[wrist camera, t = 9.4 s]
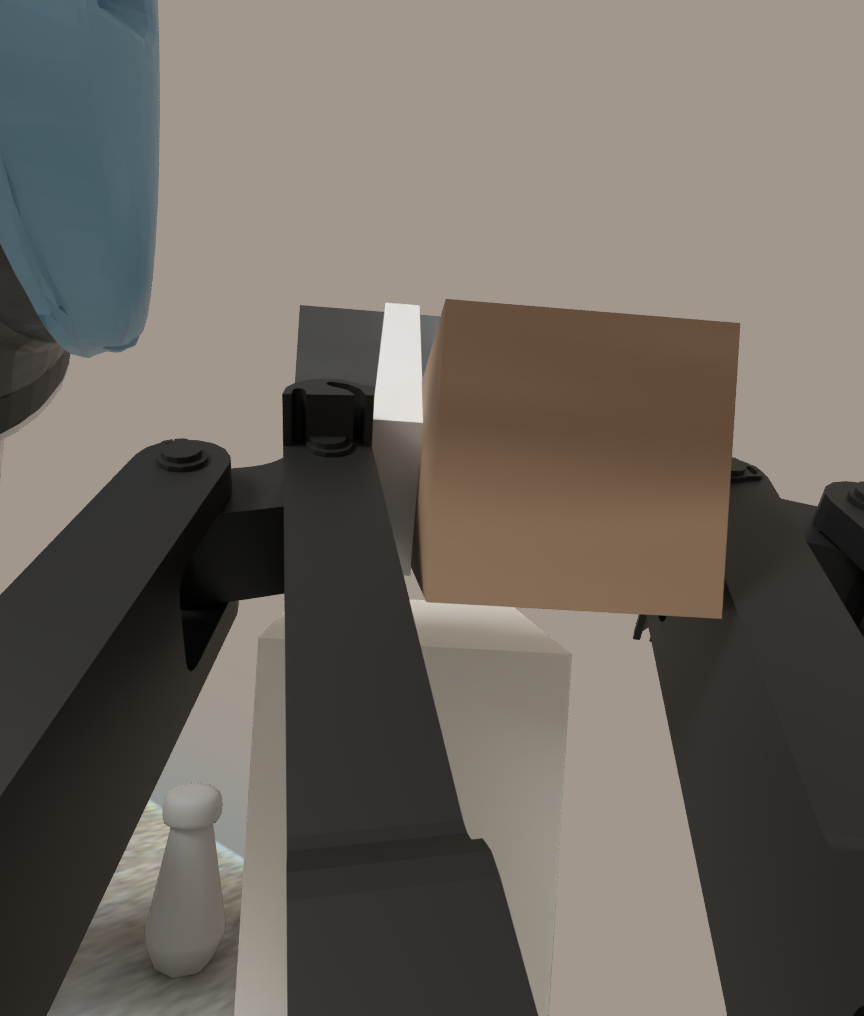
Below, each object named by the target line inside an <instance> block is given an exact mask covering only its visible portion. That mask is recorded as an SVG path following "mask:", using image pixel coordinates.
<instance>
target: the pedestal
mask: <svg viewBox="0 0 864 1016" xmlns="http://www.w3.org/2000/svg"><path fill="white" fill-rule="evenodd" d="M410 604H411V609H412V613H413V617H414V621H415V625H416V629H417V633H418V637H419V641H420V645H421V649H422V654H423V658H424V662H425V666H426V670H427V674H428V678H429V682H430V686H431V690H432V694H433V699H434V703H435V707H436V711H437V715H438V719H439V723H440V727H441V731H442V735H443V739H444V744H445V748H446V752H447V756H448V760H449V764H450V768H451V772H452V776H453V780H454V784H455V789H456V793H457V797H458V801H459V805H460V809H461V813H462V817H463V821H464V824H465V827H466V830H467V833H468V835H469V836H470V838H471V839H480V838H483V839H484V841H485V842H486V844H487V845H488V846H489V848H490V849H491V851H492V854H493V857H494V860H495V863H496V866H497V868H498V871H499V874H500V877H501V881H502V885H503V888H504V892H505V896H506V899H507V903H508V907H509V910H510V914H511V918H512V921H513V925H514V929H515V932H516V936H517V940H518V943H519V947H520V951H521V954H522V958H523V962H524V965H525V969H526V972H527V976H528V980H529V983H530V987H531V991H532V994H533V998H534V1002H535V1005H536V1009H537V1013H538V1016H549V1003H550V987H551V972H552V971H551V970H552V955H553V940H554V924H555V909H556V893H557V878H558V862H559V846H560V830H561V815H562V800H563V783H564V768H565V753H566V736H567V721H568V706H569V690H570V675H571V674H570V673H571V659H572V655H571V653H570V652H568V651H567V650H566V649H564V648H563V647H562V646H561V645H560V644H558V643H557V642H556V641H555V640H553V639H552V638H551V637H550V636H549V635H547V634H546V633H545V632H544V631H542V630H541V629H540V628H539V627H537V626H536V625H535V624H534V623H532V622H531V621H530V620H528V619H527V618H526V617H525V616H524V615H523V614H521V613H520V612H519V611H518V610H516V609H515V608H514V607H502V606H484V605H466V604H448V603H430V602H426V601H425V600H410ZM286 859H287V826H286V708H285V611H284V612H283V613H282V614H281V615H280V616H279V617H278V618H277V620H275V621H274V622H273V623H272V624H271V626H269V627H268V629H266V631H265V632H264V633H263V634H262V635H261V636H260V637H259V638H258V652H257V669H256V684H255V700H254V715H253V731H252V746H251V762H250V777H249V792H248V808H247V823H246V839H245V855H244V870H243V885H242V901H241V916H240V932H239V947H238V963H237V978H236V994H235V1009H234V1016H287V902H286Z"/></svg>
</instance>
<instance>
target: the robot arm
mask: <svg viewBox="0 0 864 1016" xmlns="http://www.w3.org/2000/svg"><path fill="white" fill-rule="evenodd" d="M159 76H160V72H159V28H158V1H157V0H0V476H1V466H2V456H3V446H4V439H5V438H7V437H8V436H10V435H12V434H14V433H16V432H18V431H19V430H20V429H22V428H23V427H24V426H26V425H27V424H28V423H30V422H31V421H32V420H34V419H35V418H36V417H37V416H38V415H39V414H40V413H41V412H42V411H43V410H44V409H45V408H46V407H47V406H48V405H49V404H50V403H51V401H52V400H53V399H54V397H55V395H56V394H57V393H58V391H59V390H60V388H61V385H62V383H63V380H64V378H65V375H66V373H67V369H68V365H69V359H70V354H74V355H78V356H82V357H86V358H90V357H92V356H94V355H97V354H100V353H103V352H106V351H110V352H122V351H124V350H126V349H127V348H130V347H132V346H134V345H136V343H137V341H138V338H139V336H140V335H141V333H142V332H143V330H144V326H145V323H146V319H147V315H148V310H149V302H150V295H151V287H152V279H153V267H154V255H155V242H156V224H157V206H158V177H159V127H160V101H159V99H160V97H159V96H160V82H159V81H160V77H159ZM282 398H283V458H282V459H279V460H277V461H275V462H272V463H268V464H265V465H259V466H253V467H244V468H233V469H231V460H230V455H229V454H228V453H227V451H226V450H225V449H224V448H222V447H220V446H218V445H216V444H213V443H209V442H204V441H198V440H188V439H175V441H173V440H172V439H171V440H166V441H162V442H161V443H159V444H156V445H153V446H149V447H147V448H145V449H143V450H142V451H140V452H139V453H137V454H136V455H135V456H134V457H133V458H132V459H131V460H130V461H129V462H128V463H127V464H126V465H125V466H124V467H123V468H122V469H121V470H120V471H119V472H118V474H117V475H115V476H114V477H113V478H112V480H111V481H110V482H109V483H108V484H107V485H106V486H105V487H104V488H103V489H102V490H101V491H100V492H99V493H98V494H97V495H96V496H95V497H94V498H93V499H92V500H91V501H90V502H89V503H88V504H87V506H86V507H85V508H84V509H83V510H82V511H81V512H80V513H79V514H78V515H77V516H76V517H75V518H74V519H73V520H72V521H71V522H70V523H69V524H68V525H67V526H66V527H65V528H64V529H63V530H62V531H61V532H60V534H59V535H58V536H57V537H56V538H55V539H54V540H53V541H52V542H51V543H50V544H49V545H48V546H47V547H46V548H45V549H44V550H43V551H42V552H41V554H39V555H38V556H37V557H36V558H35V560H34V561H33V562H32V563H31V564H30V565H29V566H28V567H27V568H26V569H25V570H24V571H23V572H22V573H21V574H20V575H19V576H18V577H17V578H16V579H15V580H14V581H13V583H11V584H10V586H9V587H8V588H7V589H6V590H5V591H4V592H3V593H2V594H1V595H0V1016H46V1015H47V1013H48V1011H49V1009H50V1007H51V1005H52V1003H53V1001H54V999H55V997H56V994H57V992H58V990H59V988H60V986H61V984H62V982H63V980H64V978H65V975H66V973H67V971H68V969H69V967H70V965H71V963H72V961H73V959H74V957H75V954H76V952H77V950H78V948H79V946H80V944H81V942H82V940H83V938H84V935H85V933H86V931H87V929H88V927H89V925H90V923H91V921H92V919H93V917H94V914H95V912H96V910H97V908H98V906H99V904H100V902H101V900H102V898H103V895H104V893H105V891H106V889H107V887H108V885H109V883H110V881H111V879H112V877H113V874H114V872H115V870H116V868H117V866H118V864H119V862H120V860H121V858H122V855H123V853H124V851H125V849H126V847H127V845H128V843H129V841H130V839H131V837H132V834H133V832H134V830H135V828H136V826H137V824H138V822H139V820H140V818H141V815H142V813H143V811H144V809H145V807H146V805H147V803H148V801H149V799H150V797H151V794H152V792H153V790H154V788H155V786H156V784H157V782H158V780H159V778H160V775H161V773H162V771H163V769H164V767H165V765H166V763H167V761H168V758H169V757H170V754H171V752H172V750H173V748H174V746H175V744H176V742H177V740H178V738H179V735H180V733H181V731H182V729H183V727H184V725H185V723H186V721H187V718H188V716H189V714H190V712H191V710H192V708H193V706H194V704H195V702H196V700H197V698H198V695H199V693H200V691H201V689H202V687H203V685H204V683H205V680H206V679H207V676H208V674H209V672H210V670H211V668H212V666H213V664H214V662H215V660H216V658H217V655H218V653H219V651H220V649H221V647H222V645H223V643H224V641H225V638H226V636H227V634H228V632H229V630H230V628H231V626H232V624H233V621H234V620H235V617H236V615H237V611H238V604H239V601H238V600H245V599H251V598H258V597H264V596H271V595H277V594H284V593H285V708H286V826H287V859H286V902H287V1016H538V1013H537V1009H536V1005H535V1002H534V998H533V994H532V991H531V987H530V983H529V980H528V976H527V972H526V969H525V965H524V962H523V958H522V954H521V951H520V947H519V943H518V940H517V936H516V932H515V929H514V925H513V921H512V918H511V914H510V910H509V907H508V903H507V899H506V896H505V892H504V888H503V885H502V881H501V877H500V874H499V871H498V868H497V866H496V863H495V860H494V857H493V854H492V851H491V849H490V848H489V846H488V845H487V844H486V842H485V841H484V839H483V838H480V839H471V838H470V836H469V835H468V833H467V830H466V827H465V824H464V821H463V817H462V813H461V809H460V805H459V801H458V797H457V793H456V789H455V784H454V780H453V776H452V772H451V768H450V764H449V760H448V756H447V752H446V748H445V744H444V739H443V735H442V731H441V727H440V723H439V719H438V715H437V711H436V707H435V703H434V699H433V694H432V690H431V686H430V682H429V678H428V674H427V670H426V666H425V662H424V658H423V654H422V649H421V645H420V641H419V637H418V633H417V629H416V625H415V621H414V617H413V613H412V609H411V604H410V600H409V596H408V592H407V588H406V584H405V581H404V576H403V575H407V576H410V574H411V566H410V565H411V554H412V542H413V531H414V519H415V508H416V497H417V485H418V474H419V462H420V451H421V439H422V428H423V408H422V361H421V332H420V306H419V305H407V304H406V305H405V304H395V303H386V304H385V312H384V321H383V329H382V338H381V346H380V354H379V363H378V371H377V379H376V386H371V385H360V384H358V383H353V382H349V381H345V380H337V379H309V380H305V381H300V382H296V383H294V384H292V385H290V386H288V387H286V388H285V391H284V392H283V395H282ZM648 627H649V632H650V636H651V637H650V642H652V646H653V651H654V656H655V661H656V666H657V671H658V676H659V681H660V686H661V691H662V696H663V700H664V705H665V710H666V715H667V720H668V725H669V730H670V734H671V740H672V745H673V750H674V754H675V759H676V764H677V769H678V774H679V779H680V784H681V789H682V794H683V799H684V803H685V809H686V814H687V818H688V824H689V828H690V833H691V838H692V843H693V848H694V853H695V858H696V863H697V868H698V873H699V878H700V882H701V887H702V892H703V897H704V902H705V907H706V912H707V917H708V922H709V927H710V932H711V937H712V942H713V946H714V951H715V956H716V961H717V966H718V971H719V976H720V981H721V986H722V991H723V996H724V1000H725V1005H726V1011H727V1016H864V482H859V483H856V482H847V481H845V482H833V483H831V484H829V485H828V486H826V487H825V489H824V492H823V495H822V497H821V500H820V502H819V504H818V507H817V506H812V505H808V504H803V503H798V502H793V501H789V500H784V499H781V498H780V497H779V495H778V493H777V492H776V490H775V488H774V487H773V485H772V483H771V482H770V480H769V479H768V477H767V476H766V475H765V474H764V473H763V472H762V471H761V470H759V469H758V468H757V467H755V466H753V465H750V464H748V463H745V462H743V461H740V460H738V459H736V458H733V457H732V463H731V479H730V495H729V511H728V527H727V543H726V559H725V575H724V591H723V607H722V619H717V618H699V617H681V616H663V615H646V614H639V616H638V619H637V623H636V626H635V630H634V636H633V639H636V640H640V638H641V634H642V631H644V630H645V629H646V628H648Z"/></svg>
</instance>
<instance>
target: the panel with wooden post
mask: <svg viewBox="0 0 864 1016" xmlns="http://www.w3.org/2000/svg"><path fill="white" fill-rule="evenodd" d="M383 321H384V312H376V311H364V310H353V309H340V308H328V307H315V306H303V305H300V314H299V330H298V345H297V361H296V377H295V383H296V382H300V381H305V380H309V379H337V380H345V381H349V382H353V383H358V384H360V385H371V386H376V379H377V371H378V363H379V354H380V346H381V338H382V329H383ZM420 332H421V361H422V408H423V428H422V439H421V451H420V462H419V474H418V485H417V497H416V508H415V519H414V531H413V542H412V554H411V565H410V566H411V568H412V570H413V572H414V575H415V577H416V579H417V581H418V583H419V586H420V588H421V591H422V593H423V595H424V598H425V600H426V602H430V603H448V604H466V605H484V606H502V607H520V608H538V609H557V610H574V611H593V612H610V613H628V614H646V615H663V616H681V617H699V618H717V619H722V607H723V591H724V575H725V559H726V543H727V527H728V511H729V495H730V479H731V463H732V446H733V430H734V413H735V398H736V382H737V366H738V350H739V334H740V333H739V332H740V323H731V322H718V321H705V320H694V319H682V318H669V317H658V316H646V315H632V314H621V313H609V312H597V311H585V310H584V311H583V310H573V309H560V308H548V307H535V306H524V305H512V304H500V303H487V302H475V301H463V300H451V299H446V300H445V304H444V307H443V311H442V314H441V317H439V316H427V315H420Z"/></svg>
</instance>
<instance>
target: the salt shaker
mask: <svg viewBox="0 0 864 1016" xmlns="http://www.w3.org/2000/svg"><path fill="white" fill-rule="evenodd" d="M222 806H223V803H222V796H221V793H220V791H219V790H217V789H216V788H215V787H213V786H211V785H208V784H202V783H190V784H185V785H180V786H178V787H175V788H173V789H172V790H171V791H170V792H169V793H168V794H167V795H166V796H165V798H164V802H163V813H162V814H163V820H164V824H166V825H167V826H169V827H171V828H170V832H169V837H168V841H167V845H166V848H165V852H164V856H163V860H162V864H161V868H160V872H159V876H158V880H157V884H156V888H155V892H154V896H153V900H152V903H151V907H150V911H149V915H148V919H147V923H146V927H145V940H146V948H147V951H148V953H149V956H150V959H151V961H152V964H153V966H154V969H155V970H156V971H158V972H160V973H162V974H165V975H167V976H169V977H171V978H177V977H182V976H187V975H193V974H198V973H199V972H200V971H201V970H202V969H203V968H204V967H205V966H206V965H207V964H208V963H209V962H210V960H211V959H212V958H213V955H214V953H215V951H216V949H217V947H218V945H219V943H220V941H221V939H222V937H223V935H224V932H225V928H226V923H225V915H224V907H223V899H222V891H221V883H220V875H219V867H218V859H217V851H216V843H215V837H214V836H215V835H214V827H213V824H214V823H216V821H217V820H218V819H219V817H220V815H221V813H222Z"/></svg>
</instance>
